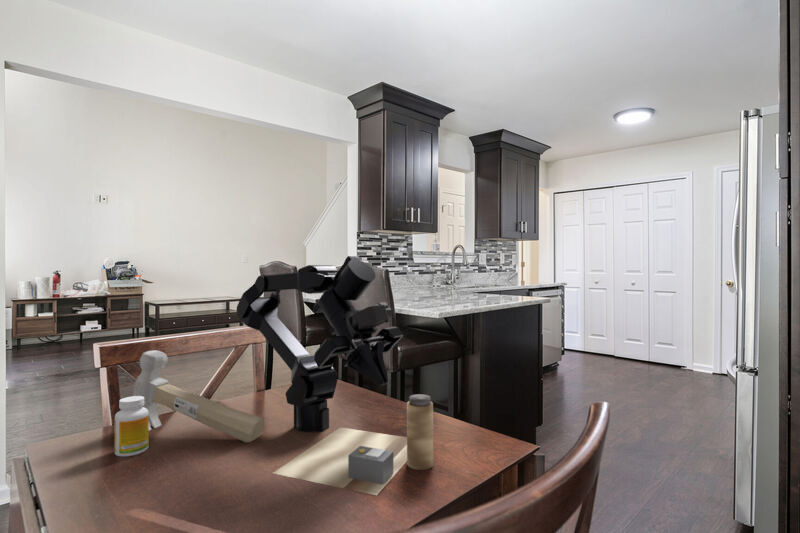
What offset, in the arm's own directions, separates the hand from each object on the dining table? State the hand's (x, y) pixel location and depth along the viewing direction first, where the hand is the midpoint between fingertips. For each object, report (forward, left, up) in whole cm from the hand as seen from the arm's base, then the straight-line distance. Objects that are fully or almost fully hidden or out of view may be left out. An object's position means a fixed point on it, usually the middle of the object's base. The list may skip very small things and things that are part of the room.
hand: (384, 384), depth 78 cm
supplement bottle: (-45, -15, -13) cm, 49 cm away
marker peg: (+7, -2, -13) cm, 15 cm away
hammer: (-40, -4, -13) cm, 43 cm away
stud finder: (+1, -8, -12) cm, 15 cm away
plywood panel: (-5, -3, -13) cm, 14 cm away
